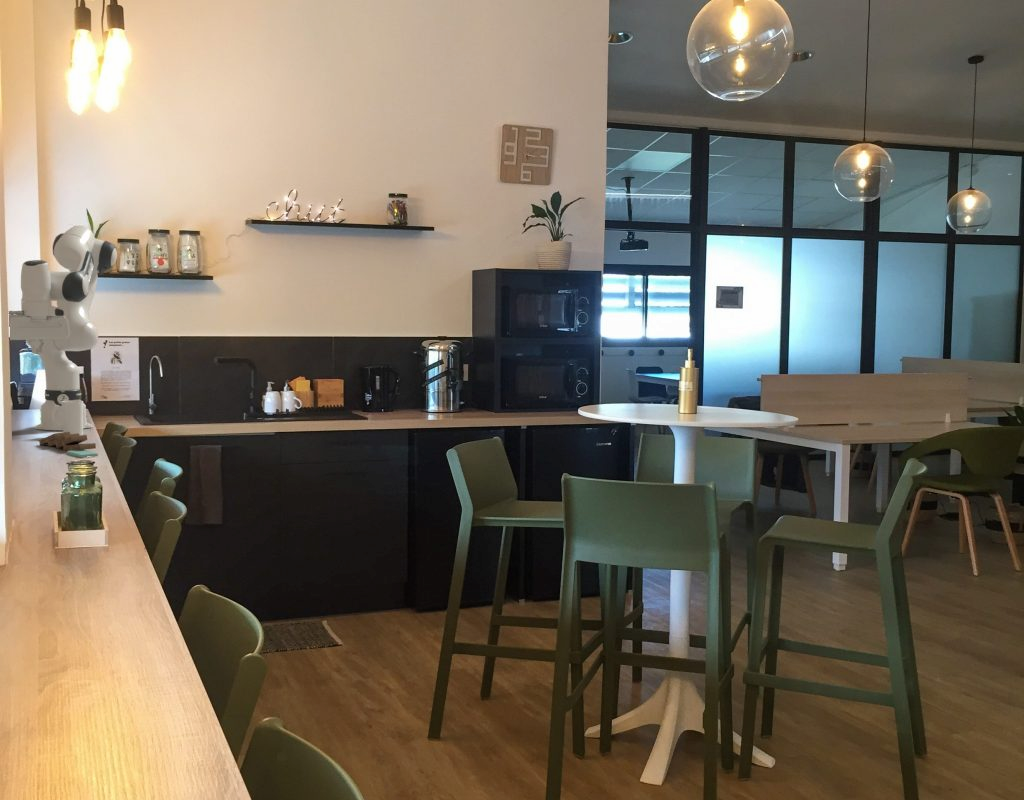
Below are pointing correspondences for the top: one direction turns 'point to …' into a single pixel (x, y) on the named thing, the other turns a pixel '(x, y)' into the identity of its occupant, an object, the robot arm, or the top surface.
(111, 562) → the top surface
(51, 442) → the domino
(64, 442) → the domino
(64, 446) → the domino
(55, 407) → the mug
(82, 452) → the domino
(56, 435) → the domino
